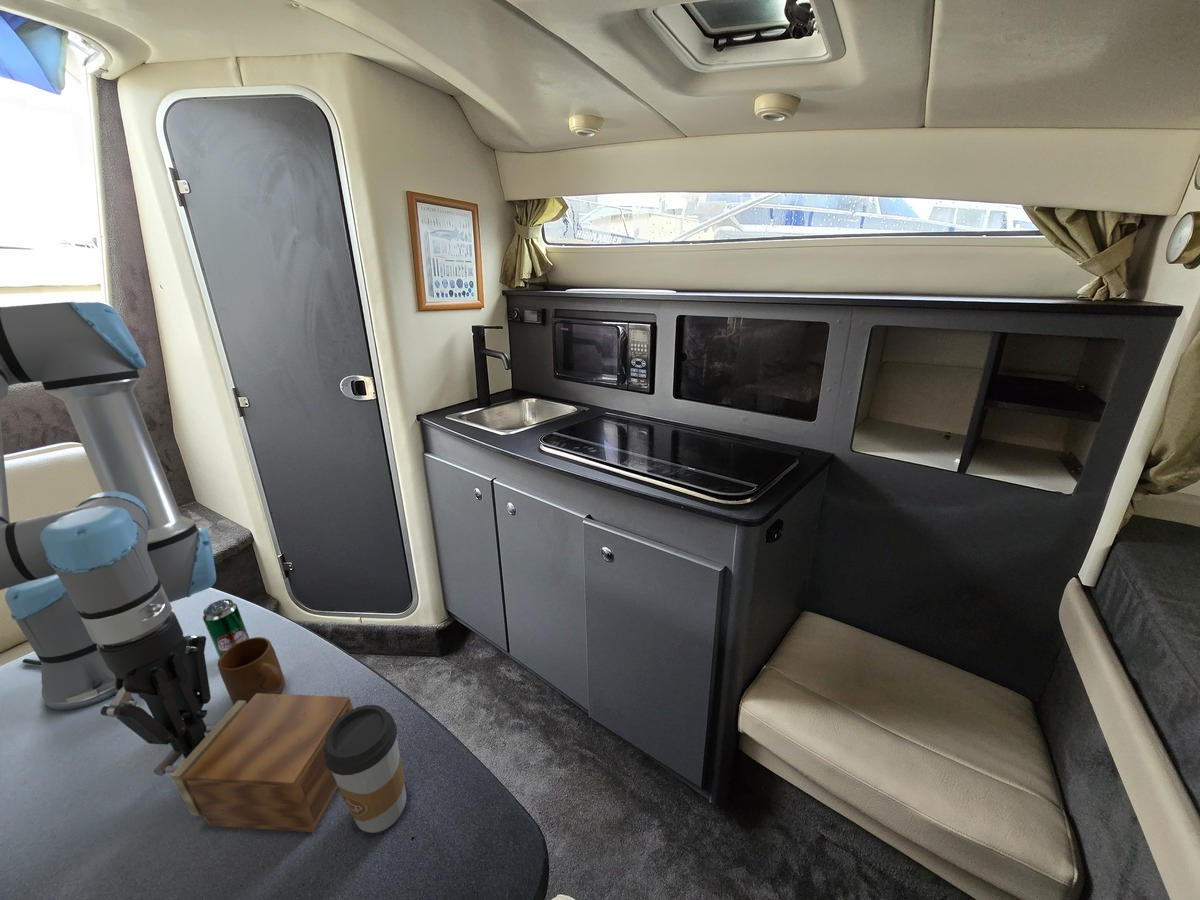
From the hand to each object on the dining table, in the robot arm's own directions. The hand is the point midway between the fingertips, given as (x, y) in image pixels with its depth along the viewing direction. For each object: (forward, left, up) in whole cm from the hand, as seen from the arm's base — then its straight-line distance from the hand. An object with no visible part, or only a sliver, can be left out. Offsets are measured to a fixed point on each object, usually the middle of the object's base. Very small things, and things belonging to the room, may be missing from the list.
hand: (200, 757), depth 70 cm
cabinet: (+13, 0, -4) cm, 13 cm away
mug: (-1, +13, -4) cm, 14 cm away
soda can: (-13, +22, -4) cm, 26 cm away
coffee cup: (+28, -3, -4) cm, 28 cm away
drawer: (+7, 0, -3) cm, 7 cm away
